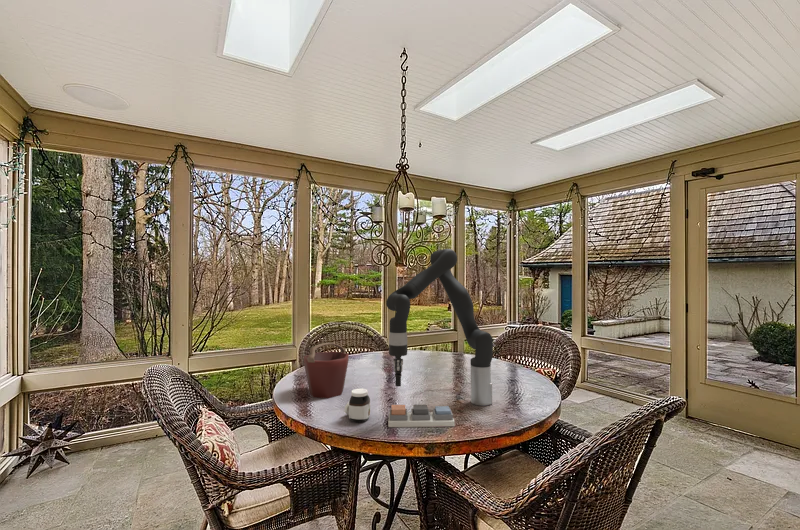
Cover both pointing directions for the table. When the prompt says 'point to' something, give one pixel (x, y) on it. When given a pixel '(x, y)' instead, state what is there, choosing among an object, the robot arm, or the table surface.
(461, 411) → the table surface
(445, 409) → the slate key
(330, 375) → the bucket
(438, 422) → the key panel
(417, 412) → the charcoal key
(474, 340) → the robot arm
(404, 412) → the terracotta key
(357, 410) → the spread jar
